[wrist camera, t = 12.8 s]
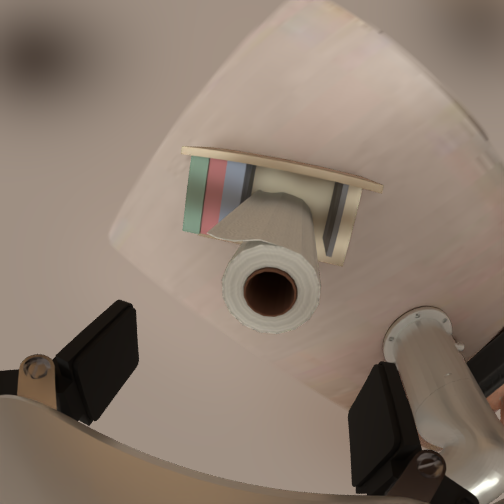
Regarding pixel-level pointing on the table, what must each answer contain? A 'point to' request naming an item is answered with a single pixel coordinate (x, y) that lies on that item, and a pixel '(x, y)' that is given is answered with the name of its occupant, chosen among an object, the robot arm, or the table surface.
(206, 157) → the book rack
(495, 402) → the ceramic jug
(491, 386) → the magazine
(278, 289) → the paper towel roll
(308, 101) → the table surface
